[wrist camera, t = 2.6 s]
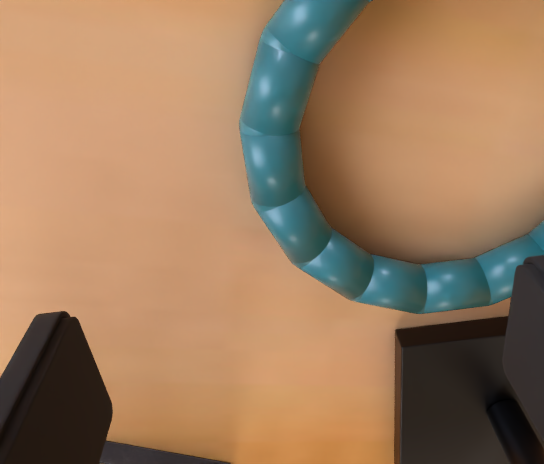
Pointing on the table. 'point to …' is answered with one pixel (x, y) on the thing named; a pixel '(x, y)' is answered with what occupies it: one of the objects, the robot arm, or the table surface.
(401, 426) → the stand
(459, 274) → the ring
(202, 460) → the ammunition clip
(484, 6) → the table surface
